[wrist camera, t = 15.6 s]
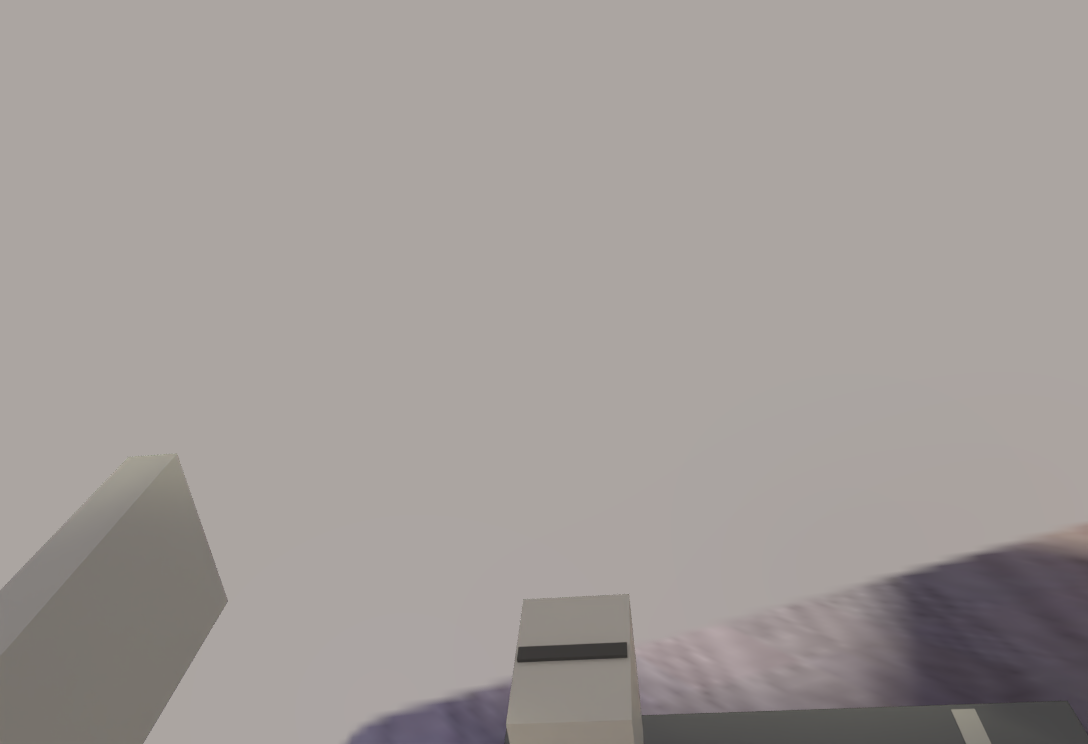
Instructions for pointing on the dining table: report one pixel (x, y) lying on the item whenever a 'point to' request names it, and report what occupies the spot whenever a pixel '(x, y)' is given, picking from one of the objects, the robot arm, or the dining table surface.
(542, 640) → the fader knob
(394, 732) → the dining table surface
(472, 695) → the dining table surface
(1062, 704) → the console
